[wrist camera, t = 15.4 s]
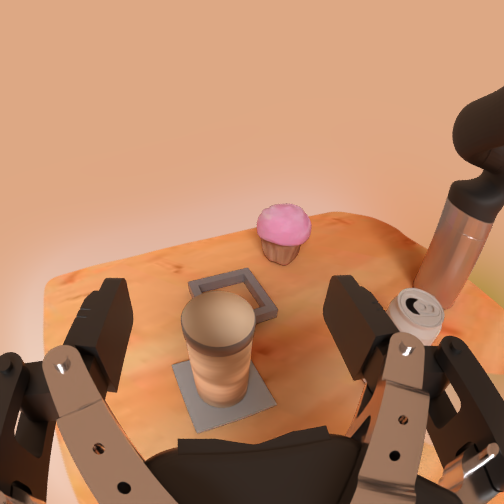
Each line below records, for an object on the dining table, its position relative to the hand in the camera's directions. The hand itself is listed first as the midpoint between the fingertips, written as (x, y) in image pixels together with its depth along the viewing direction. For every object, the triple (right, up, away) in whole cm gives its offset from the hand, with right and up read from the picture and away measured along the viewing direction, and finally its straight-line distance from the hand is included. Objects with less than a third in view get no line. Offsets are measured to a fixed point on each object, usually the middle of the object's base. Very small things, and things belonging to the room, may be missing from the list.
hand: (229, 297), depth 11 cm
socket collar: (-2, -6, +29) cm, 29 cm away
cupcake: (+6, 0, +39) cm, 39 cm away
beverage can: (+17, -13, +20) cm, 29 cm away
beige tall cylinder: (-2, -13, +17) cm, 22 cm away
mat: (-3, -13, +18) cm, 22 cm away
